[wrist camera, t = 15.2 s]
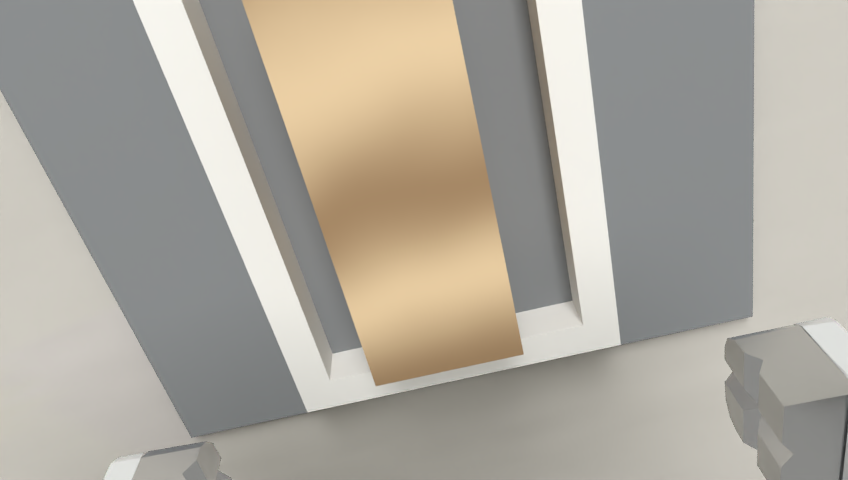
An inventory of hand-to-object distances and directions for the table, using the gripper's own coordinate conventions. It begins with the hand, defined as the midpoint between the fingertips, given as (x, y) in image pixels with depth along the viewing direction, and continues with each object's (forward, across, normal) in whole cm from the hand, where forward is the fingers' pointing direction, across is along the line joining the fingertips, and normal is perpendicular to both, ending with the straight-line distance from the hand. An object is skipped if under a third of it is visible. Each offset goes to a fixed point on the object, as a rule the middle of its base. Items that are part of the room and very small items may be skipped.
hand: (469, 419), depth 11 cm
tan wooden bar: (+12, +1, -1) cm, 12 cm away
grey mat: (+13, +1, -1) cm, 13 cm away
